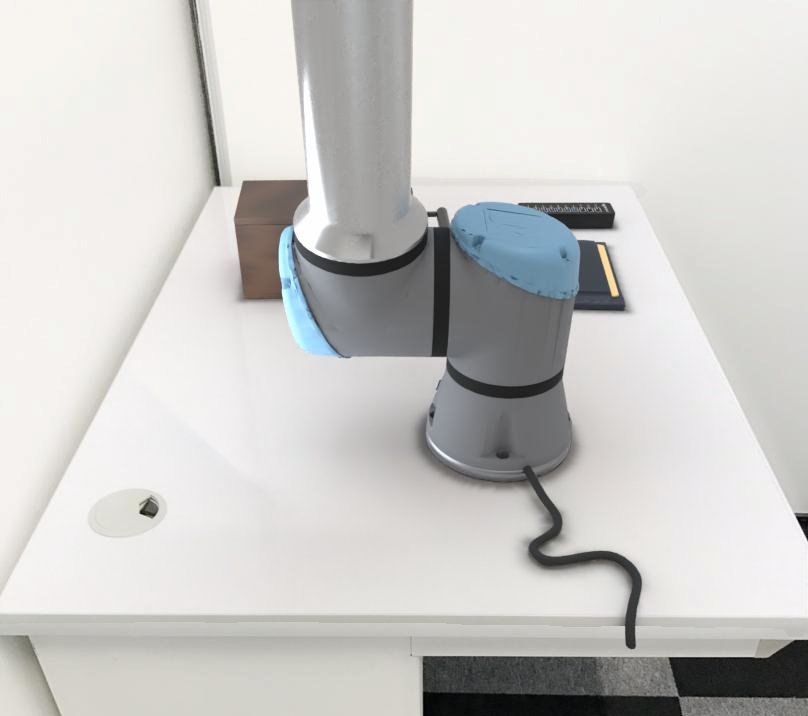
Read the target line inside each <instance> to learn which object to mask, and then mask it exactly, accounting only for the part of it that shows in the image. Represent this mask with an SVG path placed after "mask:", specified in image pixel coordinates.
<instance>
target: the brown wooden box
mask: <svg viewBox="0 0 808 716" xmlns="http://www.w3.org/2000/svg"><path fill="white" fill-rule="evenodd" d="M240 187H241V188H240V190H239V196H238V199H237V204H236V208H235V212H234V215H233V216H234V217H233V223H234V232H235V239H236V247H237V254H238V262H239V269H240V277H241V284H242V292H243V299H244V300H246V299H247V300H251V299H253V300H254V299H255V300H256V299H283V296H282V281H281V277H280V271H279V244H280V238H281V234H282V232H283V231H284V229H285V228H287V227H289V226H292V225H293V217H294V214H295V211H296V209H297V208H298V206H299V205H300V204H301V202H302V201H304V200H305V199H306V198H307V197H308V186H307V179H267V180H266V179H262V180H261V179H260V180H259V179H257V180H256V179H253V180H250V179H249V180H248V179H247V180H242V183H241V186H240Z"/></svg>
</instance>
